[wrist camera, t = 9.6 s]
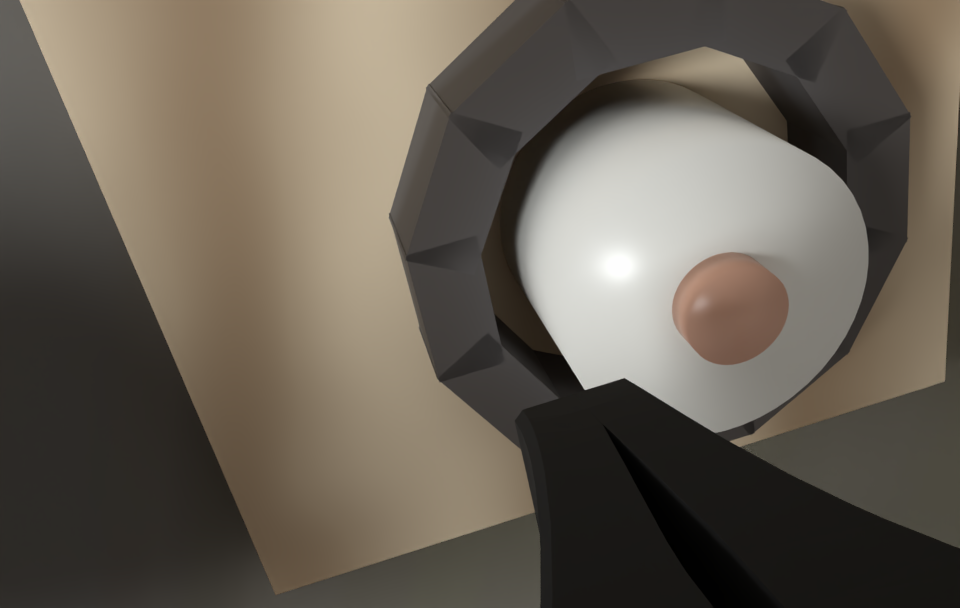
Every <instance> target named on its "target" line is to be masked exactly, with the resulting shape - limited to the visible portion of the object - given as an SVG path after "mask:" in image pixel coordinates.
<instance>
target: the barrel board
mask: <svg viewBox="0 0 960 608" xmlns="http://www.w3.org/2000/svg"><path fill="white" fill-rule="evenodd" d="M20 2H21V4H22V7H23V9H24V11H25V14H26V16H27V18H28V20H29V23H30V25H31V27H32V30H33V32H34V34H35V37H36V39H37V41H38V44H39V46H40V48H41V51H42V53H43V55H44V58H45V60H46V62H47V65H48V67H49V69H50V72H51V74H52V76H53V79H54V81H55V83H56V86H57V88H58V90H59V93H60V95H61V97H62V100H63V102H64V104H65V107H66V109H67V111H68V114H69V116H70V118H71V120H72V123H73V125H74V127H75V130H76V132H77V134H78V137H79V139H80V141H81V144H82V146H83V148H84V151H85V153H86V155H87V158H88V160H89V162H90V165H91V167H92V169H93V172H94V174H95V176H96V179H97V181H98V183H99V186H100V188H101V190H102V193H103V195H104V197H105V200H106V202H107V204H108V207H109V209H110V211H111V213H112V216H113V218H114V220H115V223H116V225H117V227H118V230H119V232H120V234H121V237H122V239H123V241H124V244H125V246H126V248H127V251H128V253H129V255H130V258H131V260H132V262H133V265H134V267H135V269H136V272H137V274H138V276H139V279H140V281H141V283H142V286H143V288H144V290H145V293H146V295H147V297H148V300H149V302H150V304H151V307H152V309H153V311H154V313H155V316H156V318H157V320H158V323H159V325H160V327H161V330H162V332H163V334H164V337H165V339H166V341H167V344H168V346H169V348H170V351H171V353H172V355H173V358H174V360H175V362H176V365H177V367H178V369H179V372H180V374H181V376H182V379H183V381H184V383H185V386H186V388H187V390H188V393H189V395H190V397H191V400H192V402H193V404H194V406H195V409H196V411H197V413H198V416H199V418H200V420H201V423H202V425H203V427H204V430H205V432H206V434H207V437H208V439H209V441H210V444H211V446H212V448H213V451H214V453H215V455H216V458H217V460H218V462H219V465H220V467H221V469H222V472H223V474H224V476H225V479H226V481H227V483H228V486H229V488H230V490H231V493H232V495H233V497H234V500H235V502H236V504H237V506H238V509H239V511H240V513H241V516H242V518H243V520H244V523H245V525H246V527H247V530H248V532H249V534H250V537H251V539H252V541H253V544H254V546H255V548H256V551H257V553H258V555H259V558H260V560H261V562H262V565H263V567H264V569H265V572H266V574H267V576H268V579H269V581H270V583H271V586H272V588H273V590H274V593H275V595H277V594H281V593H284V592H287V591H290V590H293V589H296V588H299V587H302V586H306V585H309V584H312V583H315V582H318V581H321V580H324V579H328V578H331V577H334V576H337V575H340V574H343V573H346V572H349V571H353V570H356V569H359V568H362V567H365V566H368V565H371V564H375V563H378V562H381V561H384V560H387V559H390V558H393V557H396V556H400V555H403V554H406V553H409V552H412V551H415V550H418V549H422V548H425V547H428V546H431V545H434V544H437V543H440V542H443V541H447V540H450V539H453V538H456V537H459V536H462V535H465V534H469V533H472V532H475V531H478V530H481V529H484V528H487V527H490V526H494V525H497V524H500V523H503V522H506V521H509V520H512V519H515V518H519V517H522V516H525V515H528V514H531V513H534V512H535V510H534V505H533V501H532V496H531V492H530V487H529V483H528V479H527V474H526V470H525V465H524V461H523V456H522V452H521V447H520V443H519V438H518V434H517V429H516V425H515V420H516V418H517V417H518V416H519V414H520V413H521V411H522V410H523V409H526V408H530V407H533V406H536V405H539V404H543V403H546V402H549V401H552V400H555V399H559V398H562V397H565V396H568V395H571V394H575V393H578V392H581V391H584V390H585V389H584V388H583V386H582V385H581V383H580V382H579V380H578V378H577V377H576V375H575V374H574V372H573V370H572V369H571V367H570V366H569V364H568V362H567V361H566V359H565V358H564V356H563V354H562V353H561V351H560V350H559V348H558V346H557V345H556V343H555V342H554V340H553V338H552V337H551V335H550V334H549V332H548V330H547V329H546V327H545V326H544V324H543V322H542V321H541V319H540V318H539V316H538V314H537V313H536V311H535V310H534V308H533V306H532V305H531V303H530V302H529V300H528V298H527V297H526V295H525V294H524V292H523V290H522V289H521V287H520V286H519V284H518V282H517V281H516V279H515V277H514V275H513V274H512V272H511V270H510V268H509V265H508V263H507V260H506V257H505V255H504V251H503V246H502V242H501V233H500V210H501V203H502V197H503V192H504V188H505V185H506V182H507V179H508V176H509V173H510V171H511V169H512V167H513V165H514V163H515V160H516V158H517V156H518V155H519V153H520V152H521V150H522V148H523V147H524V145H525V144H526V143H528V142H529V141H530V140H531V139H532V138H533V137H534V136H535V135H536V134H537V133H538V132H539V131H540V130H541V129H542V128H543V127H544V126H545V125H547V124H548V123H549V122H550V121H551V120H552V119H553V118H554V117H555V116H556V115H557V114H558V113H559V112H560V111H561V110H562V109H563V108H564V107H566V106H567V105H568V104H569V103H570V102H571V101H572V100H573V99H575V98H576V97H578V96H580V95H582V94H584V93H586V92H588V91H591V90H593V89H595V88H598V87H600V86H604V85H607V84H611V83H615V82H620V81H627V80H634V79H651V80H658V81H665V82H670V83H673V84H676V85H680V86H683V87H685V88H687V89H689V90H691V91H693V92H695V93H698V94H699V95H701V96H703V97H705V98H707V99H709V100H710V101H712V102H714V103H716V104H718V105H720V106H721V107H723V108H725V109H727V110H729V111H731V112H732V113H734V114H736V115H738V116H740V117H742V118H744V119H745V120H747V121H749V122H751V123H753V124H755V125H756V126H758V127H760V128H762V129H764V130H766V131H767V132H769V133H771V134H773V135H775V136H777V137H778V138H780V139H782V140H784V141H786V142H788V143H789V144H791V145H793V146H795V147H797V148H799V149H801V150H802V151H804V152H806V153H808V154H810V155H812V156H813V157H815V158H817V159H818V160H820V161H821V162H822V163H824V164H825V165H827V166H828V167H830V168H831V169H832V170H833V171H834V172H835V173H836V174H837V175H838V176H839V177H840V178H841V179H842V180H843V181H844V183H845V184H846V186H847V187H848V188H849V190H850V191H851V193H852V194H853V196H854V198H855V200H856V202H857V204H858V206H859V208H860V210H861V213H862V216H863V220H864V223H865V226H866V232H867V239H868V271H867V279H866V285H865V289H864V292H863V296H862V300H861V303H860V306H859V308H858V311H857V314H856V316H855V319H854V321H853V323H852V325H851V327H850V329H849V331H848V333H847V335H846V337H845V338H844V340H843V341H842V343H841V344H840V346H839V347H838V349H837V350H836V352H835V354H834V355H833V356H832V357H831V359H830V360H829V361H828V362H827V364H826V365H825V366H824V367H823V369H822V370H821V371H820V372H819V373H818V374H817V375H816V376H815V377H814V378H813V379H812V380H811V381H810V382H809V383H808V384H807V385H806V386H805V387H803V388H802V389H801V390H800V391H799V392H797V393H796V394H795V395H794V396H793V397H791V398H790V399H788V400H787V401H786V402H784V403H783V404H781V405H780V406H778V407H777V408H775V409H774V410H772V411H770V412H768V413H767V414H765V415H763V416H761V417H759V418H757V419H755V420H753V421H750V422H748V423H746V424H744V425H741V426H738V427H735V428H732V429H729V430H726V431H722V432H718V433H716V434H718V435H720V436H721V437H723V438H725V439H726V440H728V441H730V442H732V443H733V444H735V445H737V446H739V447H741V446H744V445H747V444H750V443H754V442H757V441H760V440H763V439H766V438H769V437H772V436H775V435H779V434H782V433H785V432H788V431H791V430H794V429H797V428H801V427H804V426H807V425H810V424H813V423H816V422H819V421H822V420H826V419H829V418H832V417H835V416H838V415H841V414H844V413H848V412H851V411H854V410H857V409H860V408H863V407H866V406H869V405H873V404H876V403H879V402H882V401H885V400H888V399H891V398H895V397H898V396H901V395H904V394H907V393H910V392H913V391H916V390H920V389H923V388H926V387H929V386H932V385H935V384H938V383H941V382H945V369H946V350H947V330H948V311H949V291H950V272H951V252H952V233H953V213H954V194H955V174H956V155H957V135H958V116H959V96H960V0H20Z"/></svg>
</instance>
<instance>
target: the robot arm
mask: <svg viewBox="0 0 960 608" xmlns="http://www.w3.org/2000/svg"><path fill="white" fill-rule="evenodd" d="M515 425H516V429H517V434H518V438H519V443H520V447H521V452H522V456H523V461H524V465H525V470H526V474H527V479H528V483H529V487H530V492H531V496H532V501H533V505H534V510H535V514H536V519H537V523H538V528H539V532H540V546H541V608H960V549H959V548H957V547H954V546H951V545H949V544H946V543H944V542H941V541H939V540H936V539H934V538H931V537H929V536H926V535H924V534H921V533H919V532H916V531H914V530H911V529H908V528H906V527H903V526H901V525H898V524H896V523H893V522H891V521H888V520H886V519H884V518H881V517H879V516H877V515H874V514H872V513H870V512H867V511H865V510H863V509H861V508H858V507H856V506H854V505H852V504H850V503H848V502H845V501H843V500H841V499H839V498H837V497H835V496H833V495H831V494H829V493H827V492H825V491H823V490H820V489H818V488H816V487H814V486H812V485H810V484H808V483H806V482H804V481H802V480H800V479H798V478H796V477H794V476H792V475H790V474H788V473H786V472H784V471H782V470H780V469H778V468H777V467H775V466H773V465H771V464H769V463H768V462H766V461H764V460H762V459H760V458H759V457H757V456H755V455H753V454H751V453H750V452H748V451H746V450H744V449H742V448H741V447H739V446H737V445H735V444H733V443H732V442H730V441H728V440H726V439H725V438H723V437H721V436H720V435H718V434H716V433H714V432H713V431H711V430H709V429H708V428H706V427H704V426H703V425H701V424H699V423H698V422H696V421H694V420H693V419H691V418H689V417H688V416H686V415H684V414H683V413H681V412H680V411H678V410H676V409H675V408H673V407H671V406H670V405H668V404H667V403H665V402H663V401H662V400H660V399H658V398H657V397H655V396H654V395H652V394H650V393H649V392H647V391H645V390H644V389H642V388H640V387H639V386H637V385H635V384H634V383H632V382H630V381H629V380H627V379H625V378H623V379H620V380H616V381H613V382H610V383H607V384H604V385H600V386H597V387H594V388H591V389H587V390H584V391H581V392H578V393H575V394H571V395H568V396H565V397H562V398H559V399H555V400H552V401H549V402H546V403H543V404H539V405H536V406H533V407H530V408H526V409H523V410H522V411H521V413H520V414H519V416H518V417H517V418H516V420H515Z"/></svg>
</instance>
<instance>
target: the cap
mask: <svg viewBox="0 0 960 608" xmlns="http://www.w3.org/2000/svg"><path fill="white" fill-rule="evenodd" d="M500 233H501V242H502V246H503V251H504V255H505V257H506V260H507V263H508V265H509V268H510V270H511V272H512V274H513V275H514V277H515V279H516V281H517V282H518V284H519V286H520V287H521V289H522V290H523V292H524V294H525V295H526V297H527V298H528V300H529V302H530V303H531V305H532V306H533V308H534V310H535V311H536V313H537V314H538V316H539V318H540V319H541V321H542V322H543V324H544V326H545V327H546V329H547V330H548V332H549V334H550V335H551V337H552V338H553V340H554V342H555V343H556V345H557V346H558V348H559V350H560V351H561V353H562V354H563V356H564V358H565V359H566V361H567V362H568V364H569V366H570V367H571V369H572V370H573V372H574V374H575V375H576V377H577V378H578V380H579V382H580V383H581V385H582V386H583V388H584V389H585V390H587V389H591V388H594V387H597V386H600V385H604V384H607V383H610V382H613V381H616V380H620V379H623V378H625V379H627V380H629V381H630V382H632V383H634V384H635V385H637V386H639V387H640V388H642V389H644V390H645V391H647V392H649V393H650V394H652V395H654V396H655V397H657V398H658V399H660V400H662V401H663V402H665V403H667V404H668V405H670V406H671V407H673V408H675V409H676V410H678V411H680V412H681V413H683V414H684V415H686V416H688V417H689V418H691V419H693V420H694V421H696V422H698V423H699V424H701V425H703V426H704V427H706V428H708V429H709V430H711V431H713V432H714V433H718V432H722V431H726V430H729V429H732V428H735V427H738V426H741V425H744V424H746V423H748V422H750V421H753V420H755V419H757V418H759V417H761V416H763V415H765V414H767V413H768V412H770V411H772V410H774V409H775V408H777V407H778V406H780V405H781V404H783V403H784V402H786V401H787V400H788V399H790V398H791V397H793V396H794V395H795V394H796V393H797V392H799V391H800V390H801V389H802V388H803V387H805V386H806V385H807V384H808V383H809V382H810V381H811V380H812V379H813V378H814V377H815V376H816V375H817V374H818V373H819V372H820V371H821V370H822V369H823V367H824V366H825V365H826V364H827V362H828V361H829V360H830V359H831V357H832V356H833V355H834V354H835V352H836V350H837V349H838V347H839V346H840V344H841V343H842V341H843V340H844V338H845V337H846V335H847V333H848V331H849V329H850V327H851V325H852V323H853V321H854V319H855V316H856V314H857V311H858V308H859V306H860V303H861V300H862V296H863V292H864V289H865V285H866V279H867V271H868V239H867V232H866V226H865V223H864V220H863V216H862V213H861V210H860V208H859V206H858V204H857V202H856V200H855V198H854V196H853V194H852V193H851V191H850V190H849V188H848V187H847V186H846V184H845V183H844V181H843V180H842V179H841V178H840V177H839V176H838V175H837V174H836V173H835V172H834V171H833V170H832V169H831V168H830V167H828V166H827V165H825V164H824V163H822V162H821V161H820V160H818V159H817V158H815V157H813V156H812V155H810V154H808V153H806V152H804V151H802V150H801V149H799V148H797V147H795V146H793V145H791V144H789V143H788V142H786V141H784V140H782V139H780V138H778V137H777V136H775V135H773V134H771V133H769V132H767V131H766V130H764V129H762V128H760V127H758V126H756V125H755V124H753V123H751V122H749V121H747V120H745V119H744V118H742V117H740V116H738V115H736V114H734V113H732V112H731V111H729V110H727V109H725V108H723V107H721V106H720V105H718V104H716V103H714V102H712V101H710V100H709V99H707V98H705V97H703V96H701V95H699V94H698V93H695V92H693V91H691V90H689V89H687V88H685V87H683V86H680V85H676V84H673V83H670V82H665V81H658V80H651V79H634V80H627V81H620V82H615V83H611V84H607V85H604V86H600V87H598V88H595V89H593V90H591V91H588V92H586V93H584V94H582V95H580V96H578V97H576V98H575V99H573V100H572V101H571V102H570V103H569V104H568V105H567V106H566V107H564V108H563V109H562V110H561V111H560V112H559V113H558V114H557V115H556V116H555V117H554V118H553V119H552V120H551V121H550V122H549V123H548V124H547V125H545V126H544V127H543V128H542V129H541V130H540V131H539V132H538V133H537V134H536V135H535V136H534V137H533V138H532V139H531V140H530V141H529V142H528V143H526V144H525V145H524V147H523V148H522V150H521V152H520V153H519V155H518V156H517V158H516V160H515V163H514V165H513V167H512V169H511V171H510V173H509V176H508V179H507V182H506V185H505V188H504V192H503V197H502V203H501V210H500Z"/></svg>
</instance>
